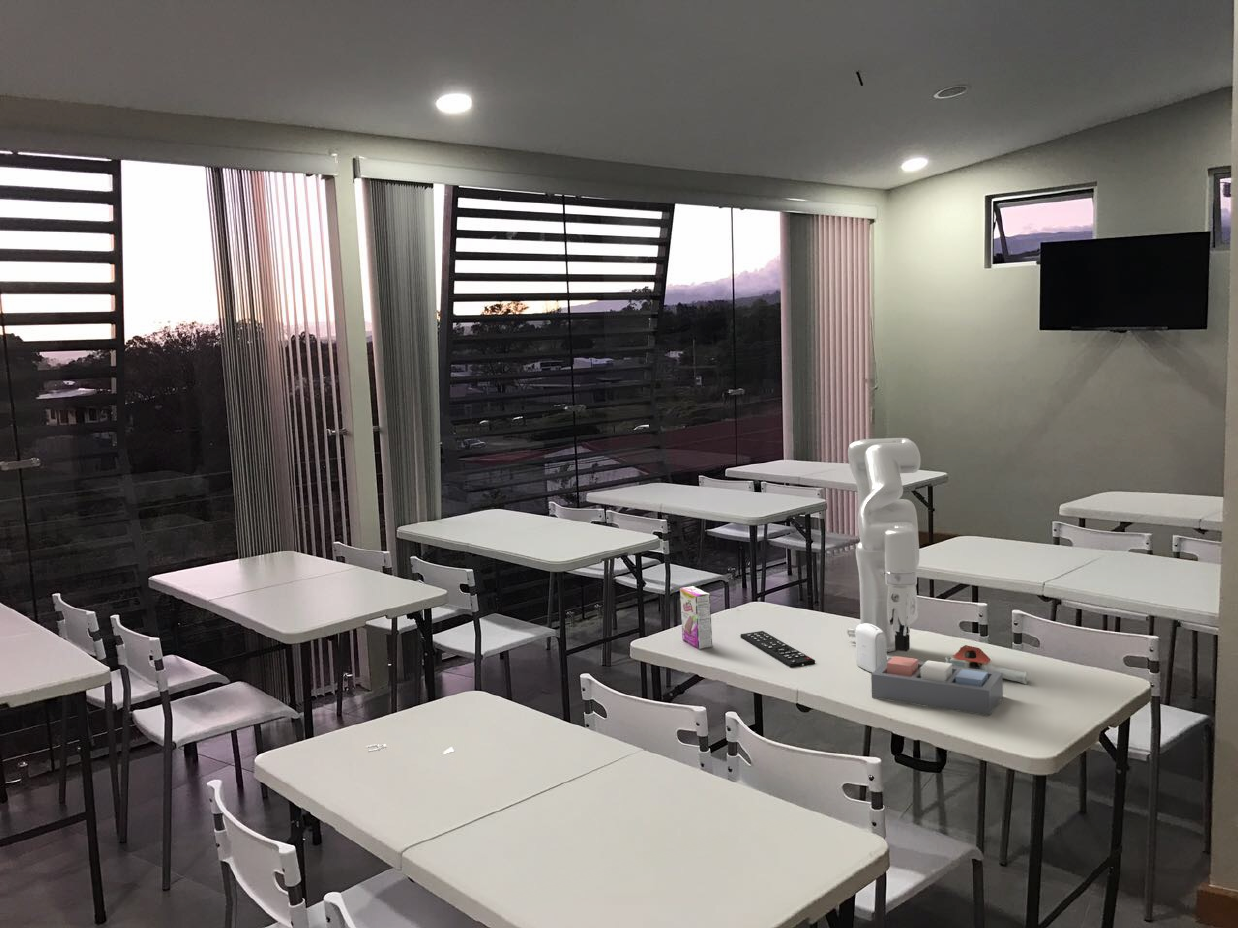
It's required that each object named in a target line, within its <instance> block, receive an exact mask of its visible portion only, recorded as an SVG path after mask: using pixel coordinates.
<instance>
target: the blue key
mask: <svg viewBox="0 0 1238 928" xmlns="http://www.w3.org/2000/svg"><path fill="white" fill-rule="evenodd" d="M987 680H988V673H987V672H980V671H973V670H965V669H962V670H961V671H960V672H959V673H958V674H957V676H956V683H958V684H965V685H972V686H979V687H982V686H983V685H984V684H985V683H986V681H987Z"/></svg>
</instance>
